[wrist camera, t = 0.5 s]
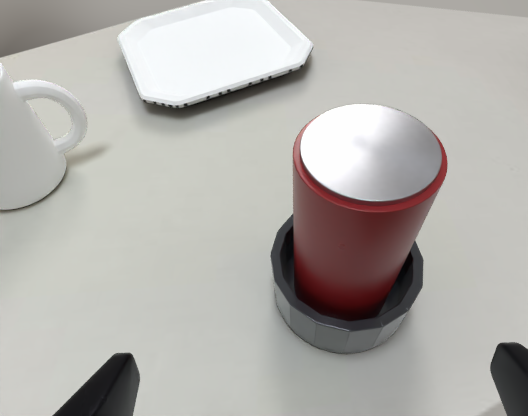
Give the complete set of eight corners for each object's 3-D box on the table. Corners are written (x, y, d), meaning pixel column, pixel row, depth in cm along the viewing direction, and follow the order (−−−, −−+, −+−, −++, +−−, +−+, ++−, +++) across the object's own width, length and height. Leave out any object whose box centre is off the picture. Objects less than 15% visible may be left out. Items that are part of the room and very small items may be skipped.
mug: (100, 127, 39) (48, 32, 31) (114, 178, 35) (58, 82, 26) (-19, 166, 37) (-109, 74, 29) (-21, 226, 32) (-130, 137, 24)
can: (399, 322, 24) (479, 194, 14) (302, 335, 24) (308, 218, 13) (370, 240, 28) (416, 91, 17) (287, 251, 28) (282, 109, 17)
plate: (117, 41, 50) (111, 25, 48) (256, 2, 54) (254, -14, 52) (153, 130, 38) (146, 113, 37) (326, 72, 42) (328, 54, 41)
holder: (426, 343, 24) (449, 317, 20) (285, 363, 24) (283, 341, 20) (381, 226, 29) (393, 190, 26) (267, 242, 29) (263, 208, 26)
